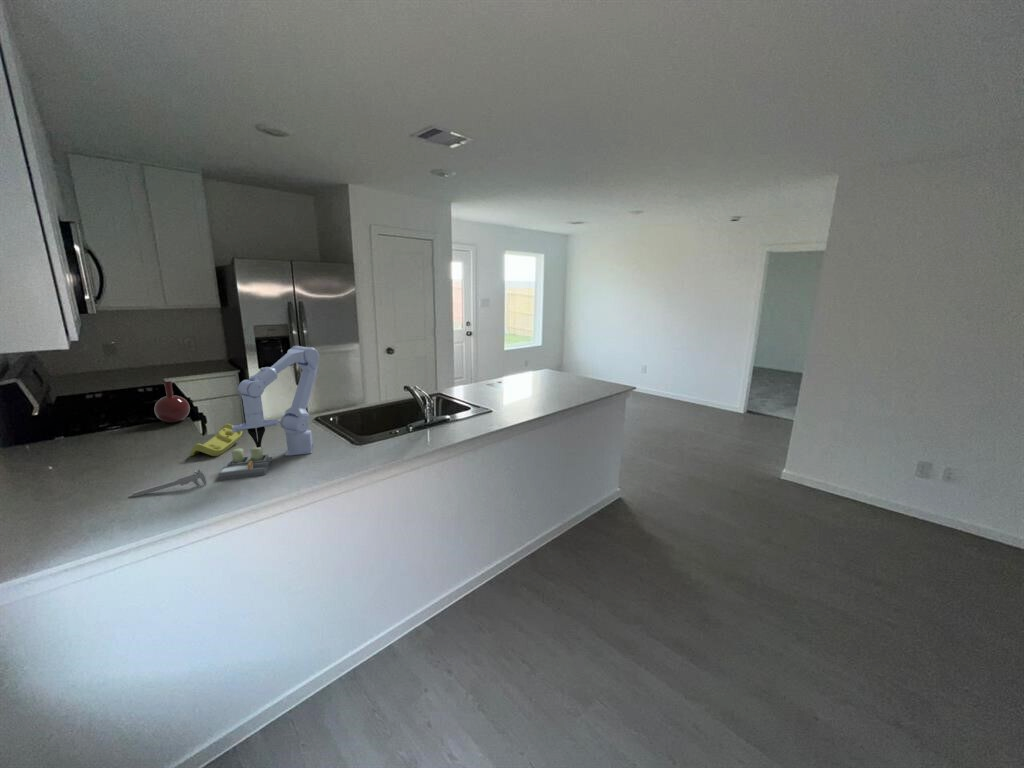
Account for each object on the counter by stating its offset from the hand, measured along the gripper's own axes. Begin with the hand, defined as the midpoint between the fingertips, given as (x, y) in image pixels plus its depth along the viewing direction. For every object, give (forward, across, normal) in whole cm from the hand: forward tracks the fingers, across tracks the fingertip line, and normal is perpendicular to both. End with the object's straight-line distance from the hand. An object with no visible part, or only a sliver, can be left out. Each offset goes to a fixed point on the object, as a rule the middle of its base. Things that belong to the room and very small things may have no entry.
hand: (258, 446), depth 149 cm
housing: (+8, +4, 0) cm, 9 cm away
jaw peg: (+7, +7, -4) cm, 10 cm away
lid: (+7, +7, +3) cm, 10 cm away
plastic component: (+9, +12, -29) cm, 33 cm away
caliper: (+8, +27, +4) cm, 28 cm away
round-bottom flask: (+8, +29, -78) cm, 84 cm away
